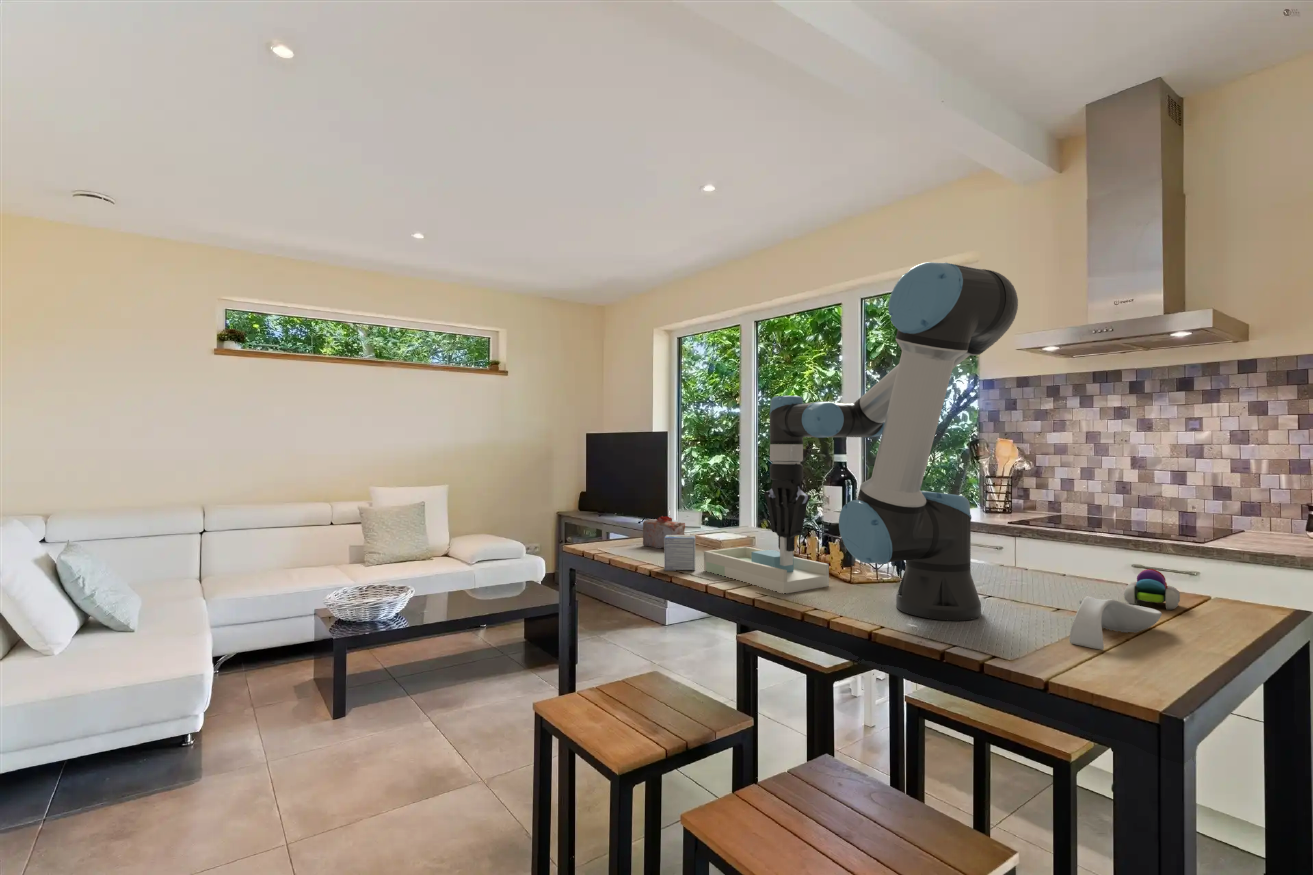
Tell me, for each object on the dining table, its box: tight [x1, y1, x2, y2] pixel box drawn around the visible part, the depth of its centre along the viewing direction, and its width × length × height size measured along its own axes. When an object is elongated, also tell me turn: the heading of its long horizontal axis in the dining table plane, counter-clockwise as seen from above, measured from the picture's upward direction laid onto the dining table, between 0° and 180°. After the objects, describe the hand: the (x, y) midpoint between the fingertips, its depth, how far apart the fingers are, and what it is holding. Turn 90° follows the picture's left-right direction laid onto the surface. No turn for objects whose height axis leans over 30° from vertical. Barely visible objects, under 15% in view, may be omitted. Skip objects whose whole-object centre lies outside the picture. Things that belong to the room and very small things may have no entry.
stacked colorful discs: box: [1123, 568, 1181, 611], centre depth 127 cm, size 8×10×7 cm
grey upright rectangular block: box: [663, 534, 696, 572], centre depth 163 cm, size 8×4×9 cm, turn 84°
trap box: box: [703, 546, 830, 595], centre depth 152 cm, size 29×14×5 cm, turn 32°
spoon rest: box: [1069, 595, 1163, 650], centre depth 108 cm, size 24×12×7 cm, turn 130°
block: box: [752, 549, 795, 573], centre depth 150 cm, size 8×6×4 cm
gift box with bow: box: [642, 515, 686, 549], centre depth 198 cm, size 14×8×10 cm, turn 53°
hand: (786, 564), depth 146 cm, fingers closed
